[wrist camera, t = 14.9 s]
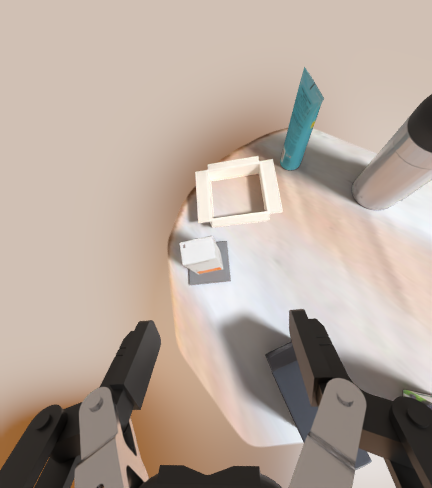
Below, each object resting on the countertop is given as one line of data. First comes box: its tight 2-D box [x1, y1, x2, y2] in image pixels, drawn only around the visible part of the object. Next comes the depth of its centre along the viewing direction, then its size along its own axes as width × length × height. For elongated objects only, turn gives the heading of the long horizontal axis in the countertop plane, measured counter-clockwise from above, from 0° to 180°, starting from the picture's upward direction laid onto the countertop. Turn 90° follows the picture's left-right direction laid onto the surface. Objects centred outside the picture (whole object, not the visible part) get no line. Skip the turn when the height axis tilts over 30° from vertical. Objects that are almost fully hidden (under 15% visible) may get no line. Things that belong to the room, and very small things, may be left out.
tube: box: [280, 67, 324, 170], centre depth 42 cm, size 7×5×19 cm, turn 20°
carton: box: [195, 156, 283, 228], centre depth 49 cm, size 18×16×4 cm
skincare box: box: [179, 236, 223, 275], centre depth 41 cm, size 6×4×12 cm
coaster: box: [189, 241, 231, 285], centre depth 47 cm, size 9×9×1 cm
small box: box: [265, 342, 372, 470], centre depth 33 cm, size 13×7×12 cm, turn 23°
